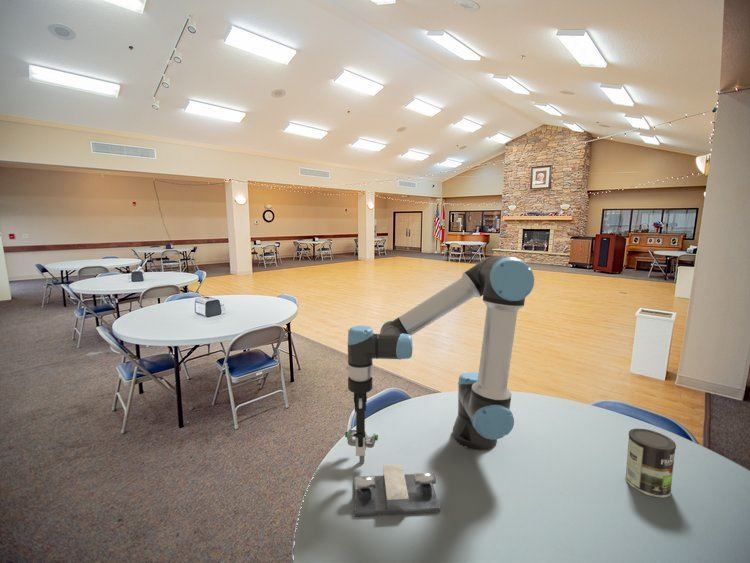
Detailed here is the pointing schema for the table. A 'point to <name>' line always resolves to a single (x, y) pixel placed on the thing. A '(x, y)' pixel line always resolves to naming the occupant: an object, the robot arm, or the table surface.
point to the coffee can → (650, 462)
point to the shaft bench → (395, 493)
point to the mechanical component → (368, 443)
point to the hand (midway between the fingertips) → (360, 441)
